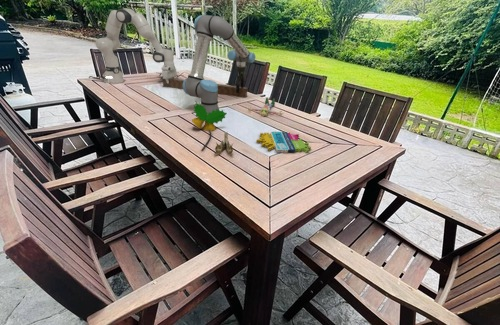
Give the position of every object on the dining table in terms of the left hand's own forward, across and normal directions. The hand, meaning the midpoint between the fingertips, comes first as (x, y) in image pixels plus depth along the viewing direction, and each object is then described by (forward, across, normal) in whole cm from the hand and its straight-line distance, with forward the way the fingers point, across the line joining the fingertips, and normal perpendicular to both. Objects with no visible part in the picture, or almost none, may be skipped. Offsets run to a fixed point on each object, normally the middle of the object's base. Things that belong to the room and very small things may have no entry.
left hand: (170, 82), depth 247 cm
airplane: (+4, -30, -19) cm, 36 cm away
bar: (+4, 0, +34) cm, 34 cm away
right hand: (0, 0, +69) cm, 69 cm away
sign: (+4, +87, +120) cm, 148 cm away
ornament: (+4, +83, +73) cm, 111 cm away
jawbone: (+4, +110, +92) cm, 143 cm away
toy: (+4, +33, +100) cm, 105 cm away
